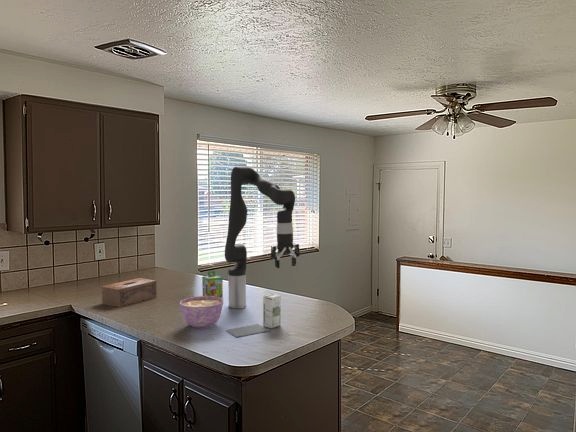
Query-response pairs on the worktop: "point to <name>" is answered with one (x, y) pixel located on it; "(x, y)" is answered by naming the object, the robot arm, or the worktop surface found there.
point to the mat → (247, 330)
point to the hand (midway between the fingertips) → (285, 266)
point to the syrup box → (271, 310)
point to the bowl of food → (201, 310)
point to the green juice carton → (212, 285)
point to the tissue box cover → (128, 292)
